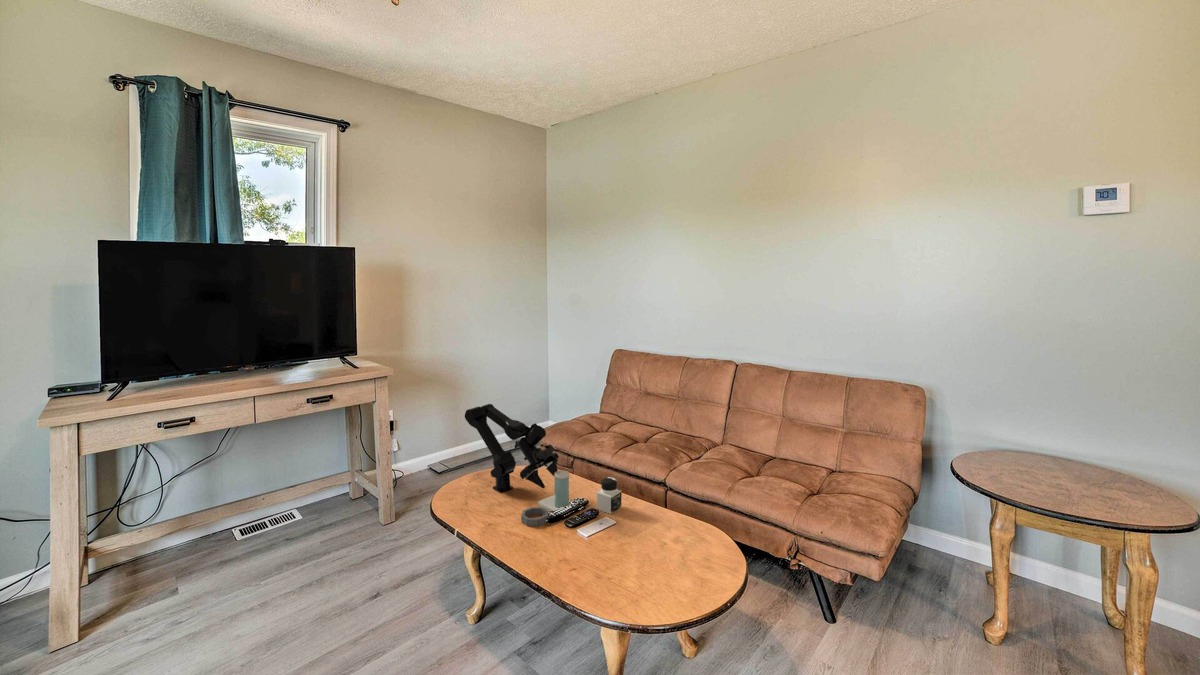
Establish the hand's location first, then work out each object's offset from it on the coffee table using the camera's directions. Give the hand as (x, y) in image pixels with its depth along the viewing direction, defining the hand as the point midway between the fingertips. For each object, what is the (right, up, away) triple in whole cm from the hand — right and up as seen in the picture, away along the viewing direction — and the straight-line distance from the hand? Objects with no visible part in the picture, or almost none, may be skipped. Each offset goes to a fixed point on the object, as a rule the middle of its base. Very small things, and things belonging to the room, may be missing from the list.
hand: (551, 483), depth 192 cm
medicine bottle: (+23, -9, -2) cm, 25 cm away
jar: (+4, -8, -2) cm, 9 cm away
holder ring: (-5, -10, -11) cm, 16 cm away
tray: (+4, -9, -1) cm, 10 cm away
